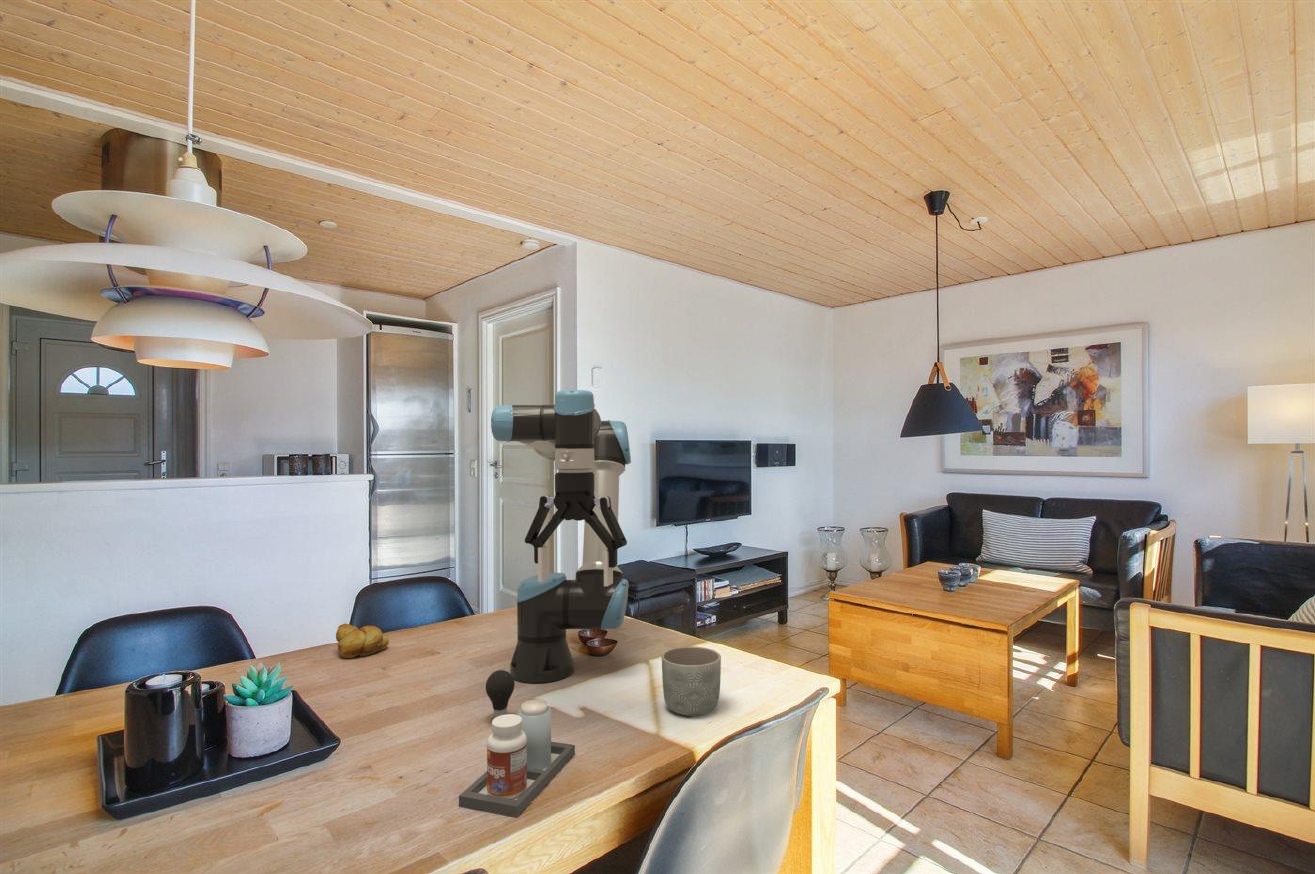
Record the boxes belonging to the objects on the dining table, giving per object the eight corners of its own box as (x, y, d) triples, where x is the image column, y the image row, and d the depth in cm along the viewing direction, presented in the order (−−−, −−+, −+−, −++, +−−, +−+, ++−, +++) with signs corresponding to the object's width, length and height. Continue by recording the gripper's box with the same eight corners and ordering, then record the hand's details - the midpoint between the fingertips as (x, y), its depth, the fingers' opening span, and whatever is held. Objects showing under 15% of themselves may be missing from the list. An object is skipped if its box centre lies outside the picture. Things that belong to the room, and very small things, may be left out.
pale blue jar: (511, 768, 106) (511, 709, 106) (528, 753, 112) (527, 696, 112) (541, 773, 105) (541, 713, 105) (556, 757, 110) (556, 700, 110)
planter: (680, 725, 123) (679, 669, 123) (651, 703, 134) (651, 651, 134) (733, 713, 129) (732, 659, 129) (701, 692, 140) (701, 642, 140)
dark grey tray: (458, 806, 96) (458, 795, 96) (524, 746, 115) (524, 737, 115) (517, 817, 93) (517, 806, 93) (574, 753, 112) (574, 744, 112)
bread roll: (387, 644, 175) (387, 615, 175) (391, 654, 167) (391, 624, 167) (335, 652, 169) (335, 622, 169) (337, 663, 160) (337, 631, 161)
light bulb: (520, 717, 127) (519, 667, 127) (504, 729, 122) (504, 677, 122) (496, 713, 129) (496, 664, 129) (479, 725, 124) (479, 673, 124)
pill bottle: (478, 791, 99) (478, 721, 99) (511, 776, 104) (510, 708, 104) (502, 806, 95) (502, 732, 95) (535, 789, 100) (534, 718, 100)
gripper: (506, 471, 120) (507, 582, 120) (629, 472, 113) (630, 590, 113) (526, 470, 127) (526, 575, 127) (642, 470, 120) (643, 582, 120)
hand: (575, 582), depth 120 cm, fingers open, 13 cm apart
